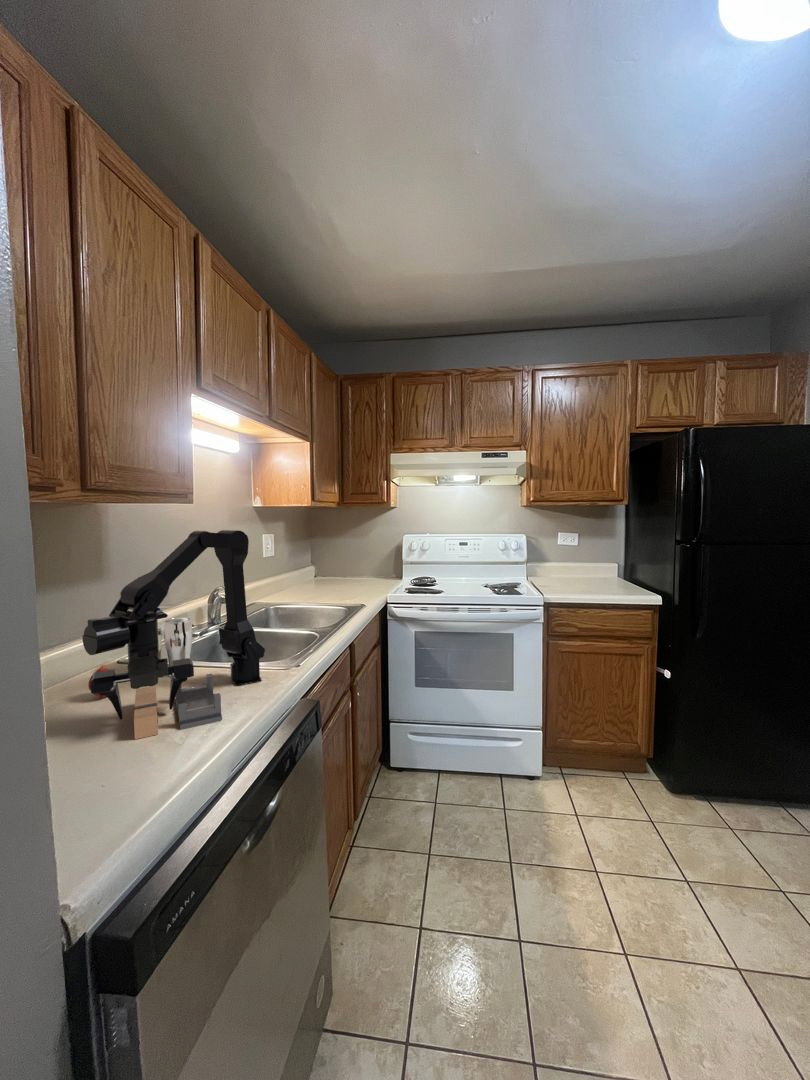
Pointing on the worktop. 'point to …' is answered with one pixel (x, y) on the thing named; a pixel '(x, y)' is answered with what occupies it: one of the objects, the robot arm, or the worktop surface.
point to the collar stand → (198, 705)
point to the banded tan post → (145, 713)
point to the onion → (102, 668)
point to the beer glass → (178, 638)
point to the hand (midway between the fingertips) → (146, 713)
